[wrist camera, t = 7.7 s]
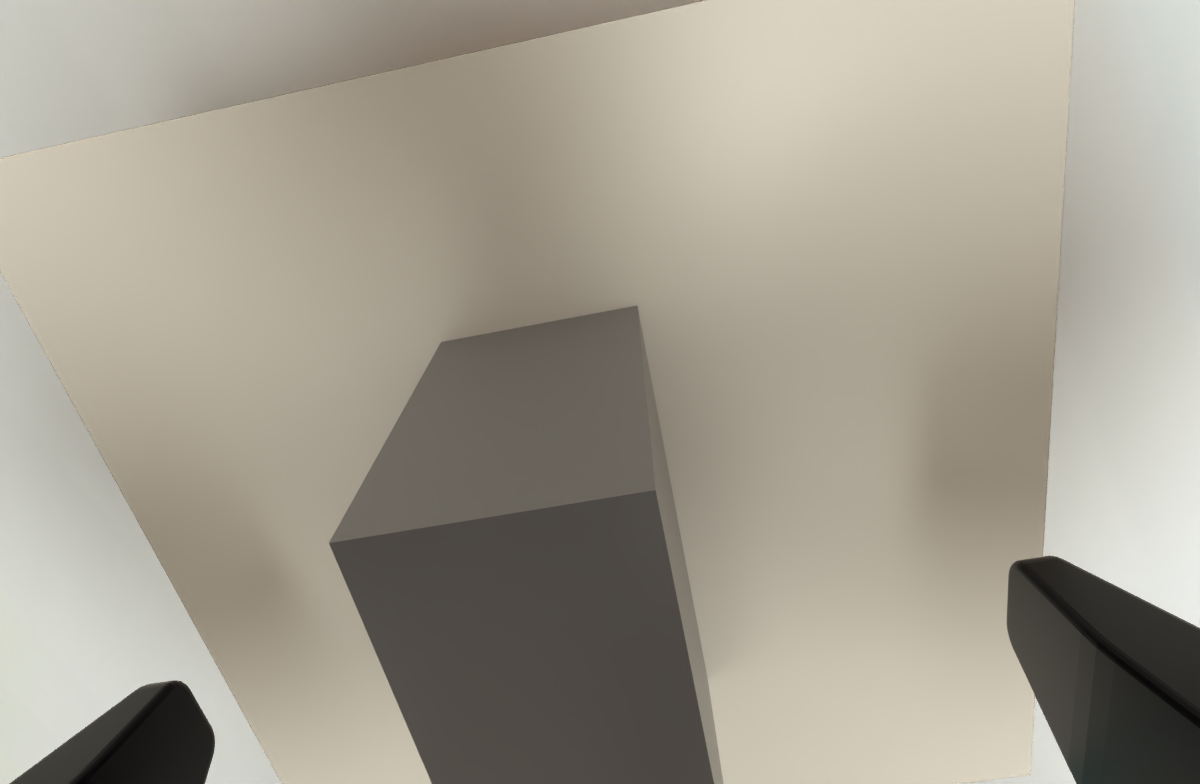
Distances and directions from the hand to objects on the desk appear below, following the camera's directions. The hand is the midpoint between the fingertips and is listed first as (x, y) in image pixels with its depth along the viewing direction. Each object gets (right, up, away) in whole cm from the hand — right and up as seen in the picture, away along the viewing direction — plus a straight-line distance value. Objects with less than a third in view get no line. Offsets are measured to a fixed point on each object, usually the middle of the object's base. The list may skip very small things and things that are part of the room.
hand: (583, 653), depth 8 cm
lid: (0, +1, +3) cm, 3 cm away
